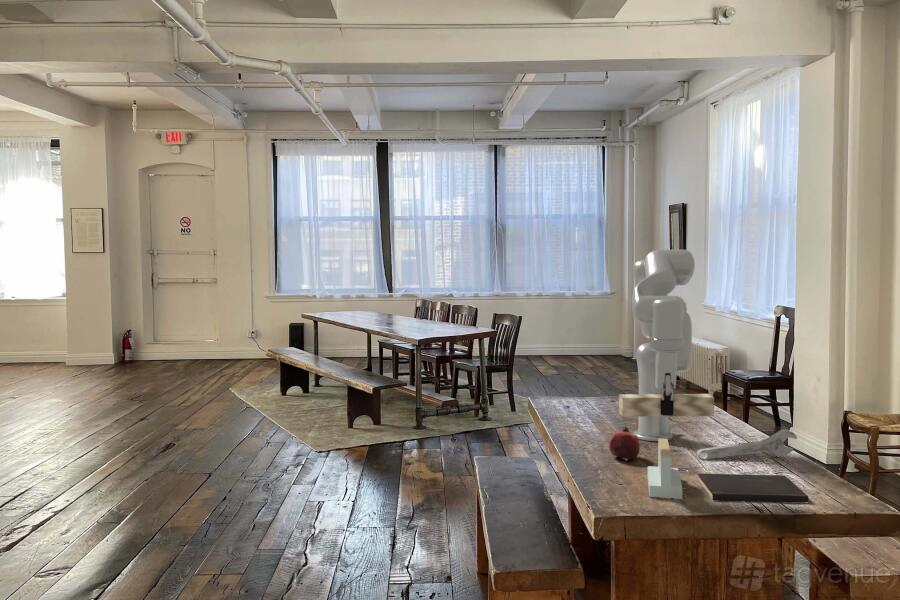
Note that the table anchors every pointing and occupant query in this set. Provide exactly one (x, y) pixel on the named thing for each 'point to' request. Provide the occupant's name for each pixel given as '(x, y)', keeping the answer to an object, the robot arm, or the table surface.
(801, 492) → the hardcover book
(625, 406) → the birch bar
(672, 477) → the ridge stand
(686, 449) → the table surface
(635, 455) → the fruit
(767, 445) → the wrench
